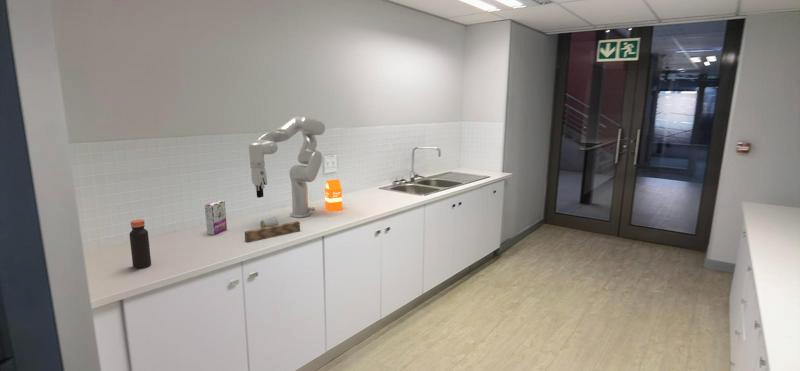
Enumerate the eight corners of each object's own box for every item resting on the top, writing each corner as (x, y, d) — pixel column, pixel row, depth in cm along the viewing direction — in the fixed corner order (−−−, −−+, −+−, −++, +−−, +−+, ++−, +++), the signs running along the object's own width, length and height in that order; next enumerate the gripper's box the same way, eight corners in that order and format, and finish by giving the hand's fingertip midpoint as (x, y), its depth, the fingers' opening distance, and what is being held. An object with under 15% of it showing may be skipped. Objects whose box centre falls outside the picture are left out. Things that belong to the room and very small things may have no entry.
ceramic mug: (259, 231, 236) (259, 217, 235) (274, 228, 241) (273, 215, 239) (266, 236, 228) (266, 222, 226) (281, 233, 233) (281, 220, 231)
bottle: (142, 262, 189) (138, 218, 186) (155, 264, 188) (150, 219, 184) (129, 267, 183) (123, 222, 179) (141, 269, 181) (136, 223, 177)
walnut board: (297, 229, 240) (297, 221, 239) (300, 230, 238) (299, 222, 237) (245, 241, 220) (244, 231, 219) (247, 242, 218) (246, 232, 217)
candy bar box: (219, 228, 240) (217, 200, 237) (227, 229, 239) (225, 200, 236) (206, 234, 229) (204, 204, 226) (214, 235, 228) (212, 205, 225)
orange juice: (342, 210, 285) (341, 180, 281) (330, 211, 280) (329, 181, 276) (336, 207, 291) (336, 178, 287) (324, 209, 286) (324, 179, 282)
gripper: (270, 165, 235) (272, 198, 239) (258, 162, 246) (260, 193, 250) (256, 167, 230) (259, 200, 234) (245, 164, 241) (248, 195, 245)
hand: (260, 196), depth 242 cm, fingers closed
